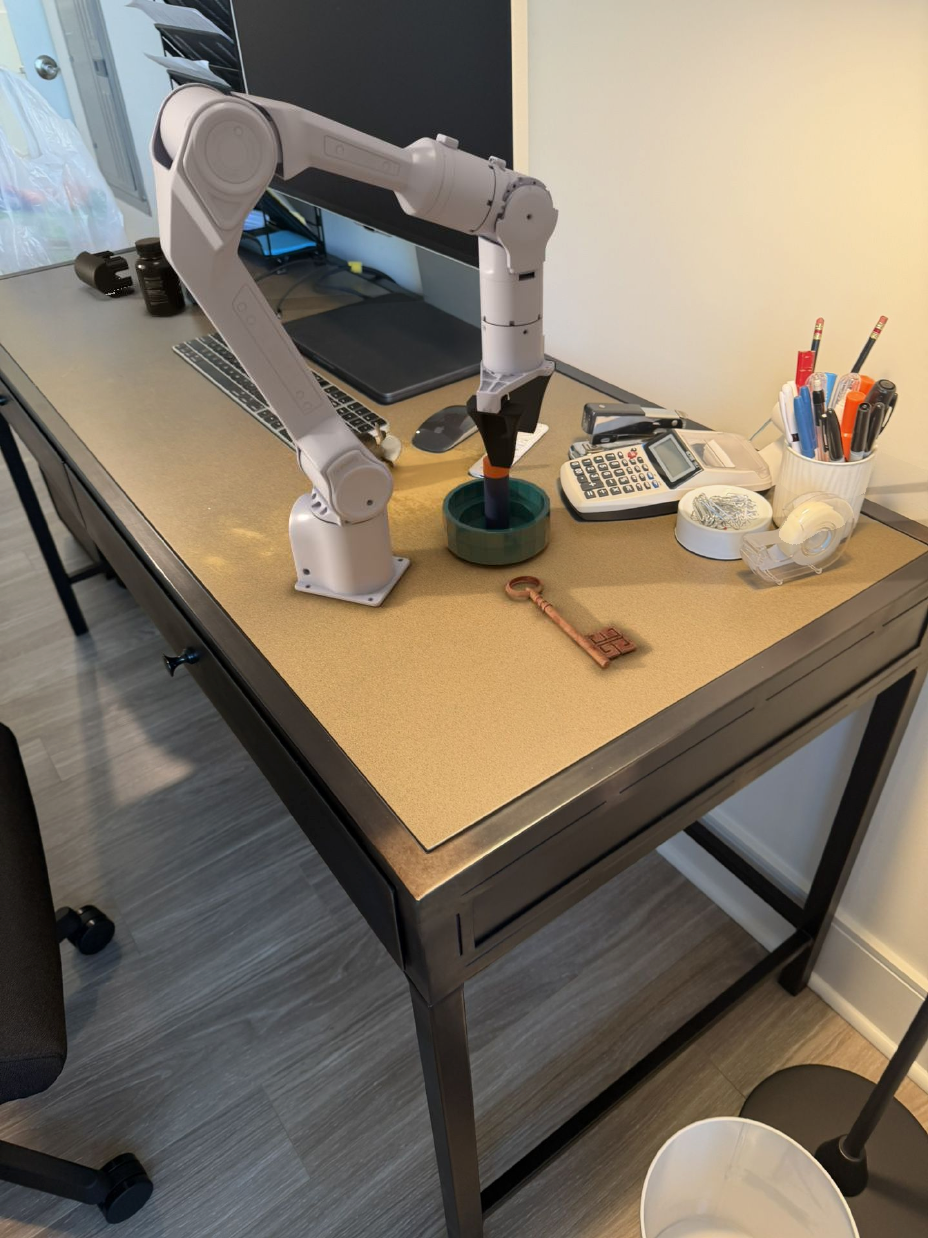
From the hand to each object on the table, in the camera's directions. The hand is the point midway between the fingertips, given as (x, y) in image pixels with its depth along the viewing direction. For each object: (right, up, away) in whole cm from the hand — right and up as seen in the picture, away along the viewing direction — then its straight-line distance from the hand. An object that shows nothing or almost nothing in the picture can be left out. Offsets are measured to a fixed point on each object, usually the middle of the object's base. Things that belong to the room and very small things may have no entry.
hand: (513, 447), depth 88 cm
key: (+5, -18, -7) cm, 19 cm away
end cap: (-73, +45, +76) cm, 115 cm away
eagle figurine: (-17, 0, +16) cm, 24 cm away
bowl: (-1, -9, +5) cm, 10 cm away
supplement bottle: (-58, +38, +67) cm, 96 cm away
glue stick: (-1, -8, +4) cm, 10 cm away
